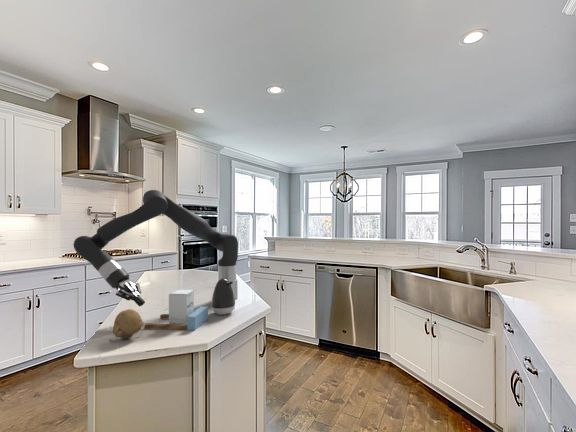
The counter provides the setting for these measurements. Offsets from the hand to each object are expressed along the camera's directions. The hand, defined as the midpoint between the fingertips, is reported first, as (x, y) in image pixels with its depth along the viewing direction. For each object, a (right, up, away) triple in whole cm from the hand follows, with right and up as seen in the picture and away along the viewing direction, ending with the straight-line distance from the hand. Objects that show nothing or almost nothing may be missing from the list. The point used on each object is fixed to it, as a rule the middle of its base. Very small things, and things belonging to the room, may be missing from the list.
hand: (142, 304), depth 122 cm
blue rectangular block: (+23, -7, -2) cm, 24 cm away
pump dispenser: (+30, -7, +11) cm, 33 cm away
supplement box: (+16, -7, -1) cm, 18 cm away
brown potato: (+3, -7, -16) cm, 18 cm away
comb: (+13, -7, -1) cm, 15 cm away
